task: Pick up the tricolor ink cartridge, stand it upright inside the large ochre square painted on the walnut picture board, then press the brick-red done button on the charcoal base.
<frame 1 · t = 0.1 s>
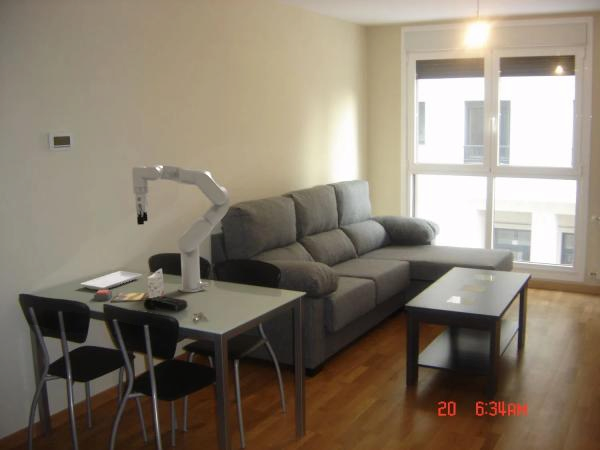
hand: (142, 222, 346), 37 cm above the table, tool pointing down, fingers open, 9 cm apart
button base: (103, 298, 339), on the table
ink cartridge box: (156, 298, 339), on the table
picture board: (130, 298, 339), on the table
done button: (103, 293, 338), point 3 cm above the table, slide at 0.0 cm
tray: (112, 284, 367), on the table
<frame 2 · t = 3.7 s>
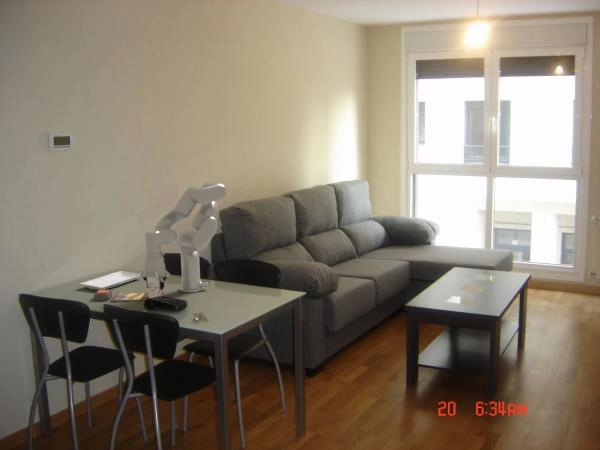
hand: (155, 289, 338), 5 cm above the table, tool pointing down, fingers closed on ink cartridge box, 5 cm apart
ink cartridge box: (156, 298, 339), on the table, touching gripper
everything else where it was.
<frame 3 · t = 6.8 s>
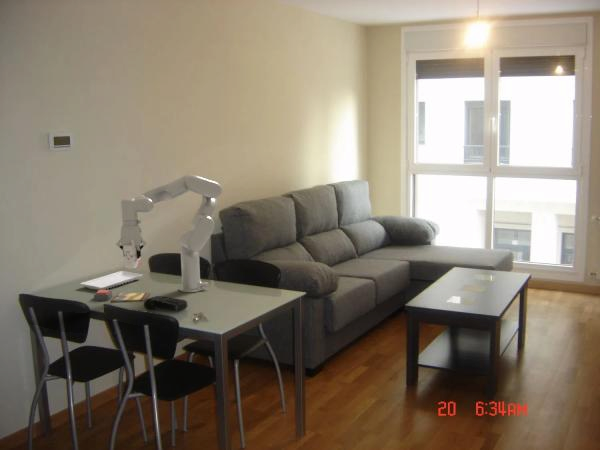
hand: (132, 257, 335), 21 cm above the table, tool pointing down, fingers closed on ink cartridge box, 5 cm apart
ink cartridge box: (132, 266, 336), point 16 cm above the table, touching gripper
everything else where it was.
when the fingers open (7 cm above the table, at t = 9.8 s): ink cartridge box drops 1 cm, resting on picture board.
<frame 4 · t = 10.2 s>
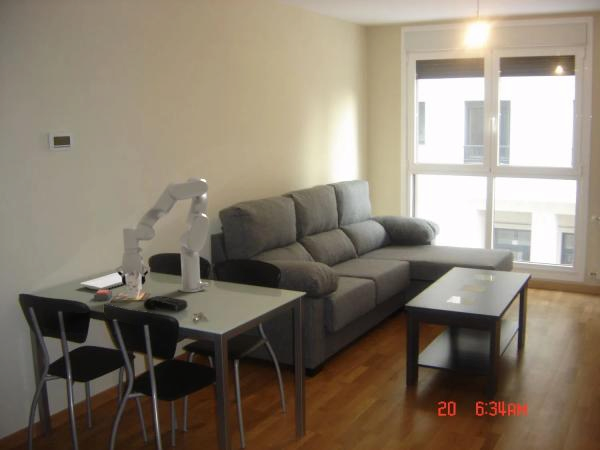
hand: (133, 283, 338), 7 cm above the table, tool pointing down, fingers open, 9 cm apart
ink cartridge box: (134, 296, 339), point 1 cm above the table, touching picture board
everything else where it was.
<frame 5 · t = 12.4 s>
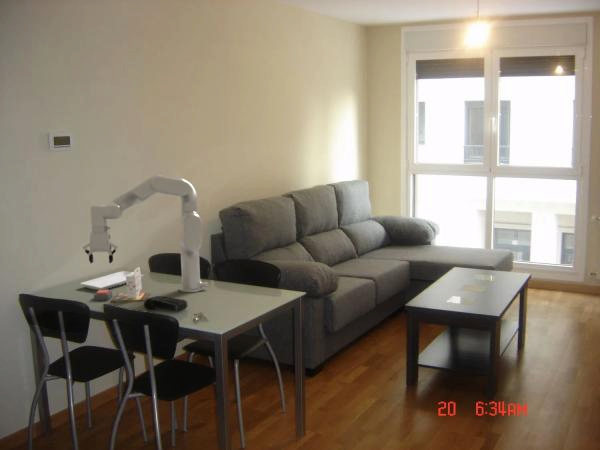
hand: (101, 262, 335), 19 cm above the table, tool pointing down, fingers open, 9 cm apart
nothing on the table moved.
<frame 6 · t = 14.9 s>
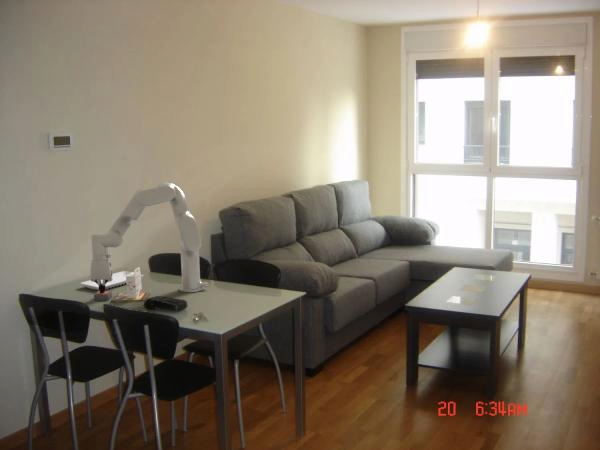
hand: (102, 292, 338), 3 cm above the table, tool pointing down, fingers closed
done button: (103, 294, 338), point 2 cm above the table, slide at 0.6 cm, touching gripper
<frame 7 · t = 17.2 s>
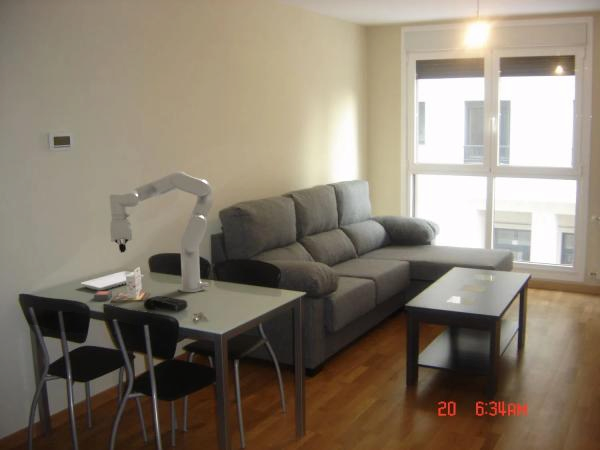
hand: (123, 251, 343), 22 cm above the table, tool pointing down, fingers closed
done button: (103, 295, 338), point 2 cm above the table, slide at 0.9 cm
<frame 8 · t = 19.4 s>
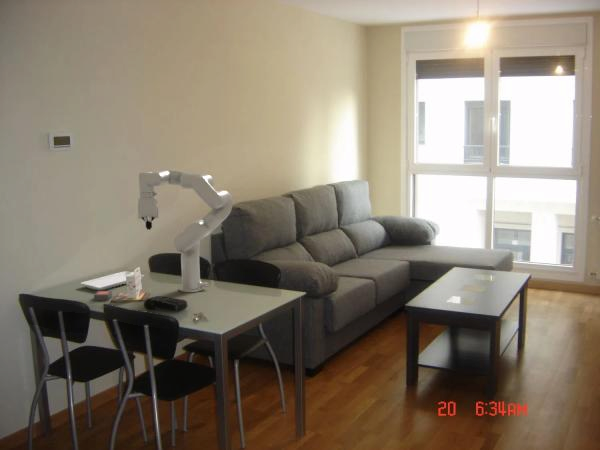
hand: (149, 229, 353), 32 cm above the table, tool pointing down, fingers closed
at the end: ink cartridge box 0.1 cm from the target spot on the picture board, point 0.7 cm above the picture board's base; ink cartridge box tilted 0°; done button slide at 0.9 cm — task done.
